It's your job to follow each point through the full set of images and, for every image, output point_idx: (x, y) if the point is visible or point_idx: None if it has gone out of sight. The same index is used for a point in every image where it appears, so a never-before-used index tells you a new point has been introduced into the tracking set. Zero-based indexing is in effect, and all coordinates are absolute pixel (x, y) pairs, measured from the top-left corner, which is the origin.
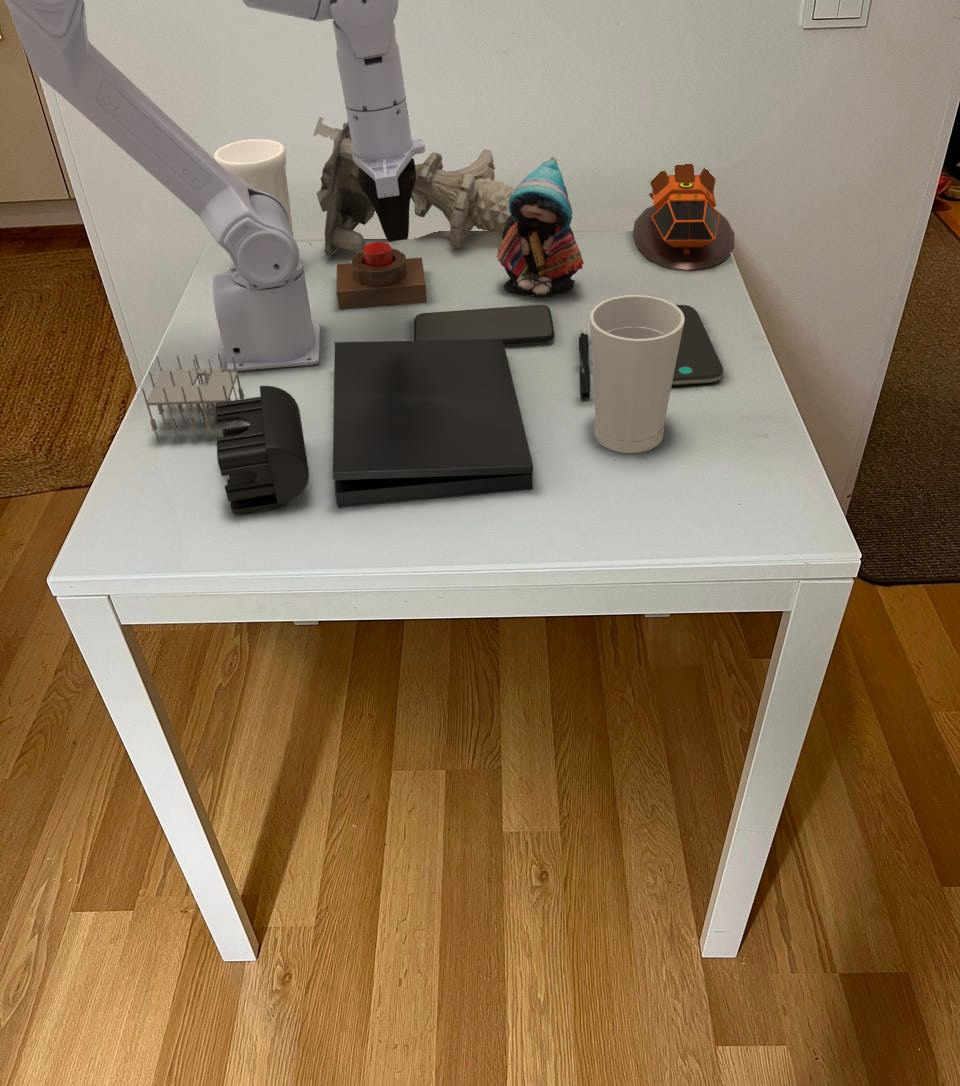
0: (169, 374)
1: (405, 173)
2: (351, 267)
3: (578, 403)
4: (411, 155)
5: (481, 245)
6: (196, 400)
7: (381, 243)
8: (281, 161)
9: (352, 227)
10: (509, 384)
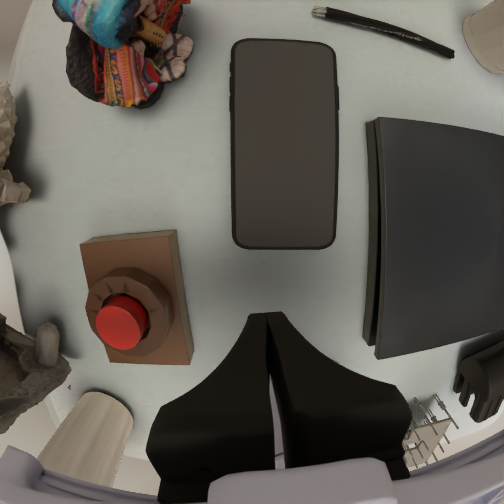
0: None
1: (339, 443)
2: None
3: (450, 64)
4: (417, 492)
5: (23, 157)
6: (440, 437)
7: (100, 321)
8: None
9: (7, 327)
10: (475, 134)
